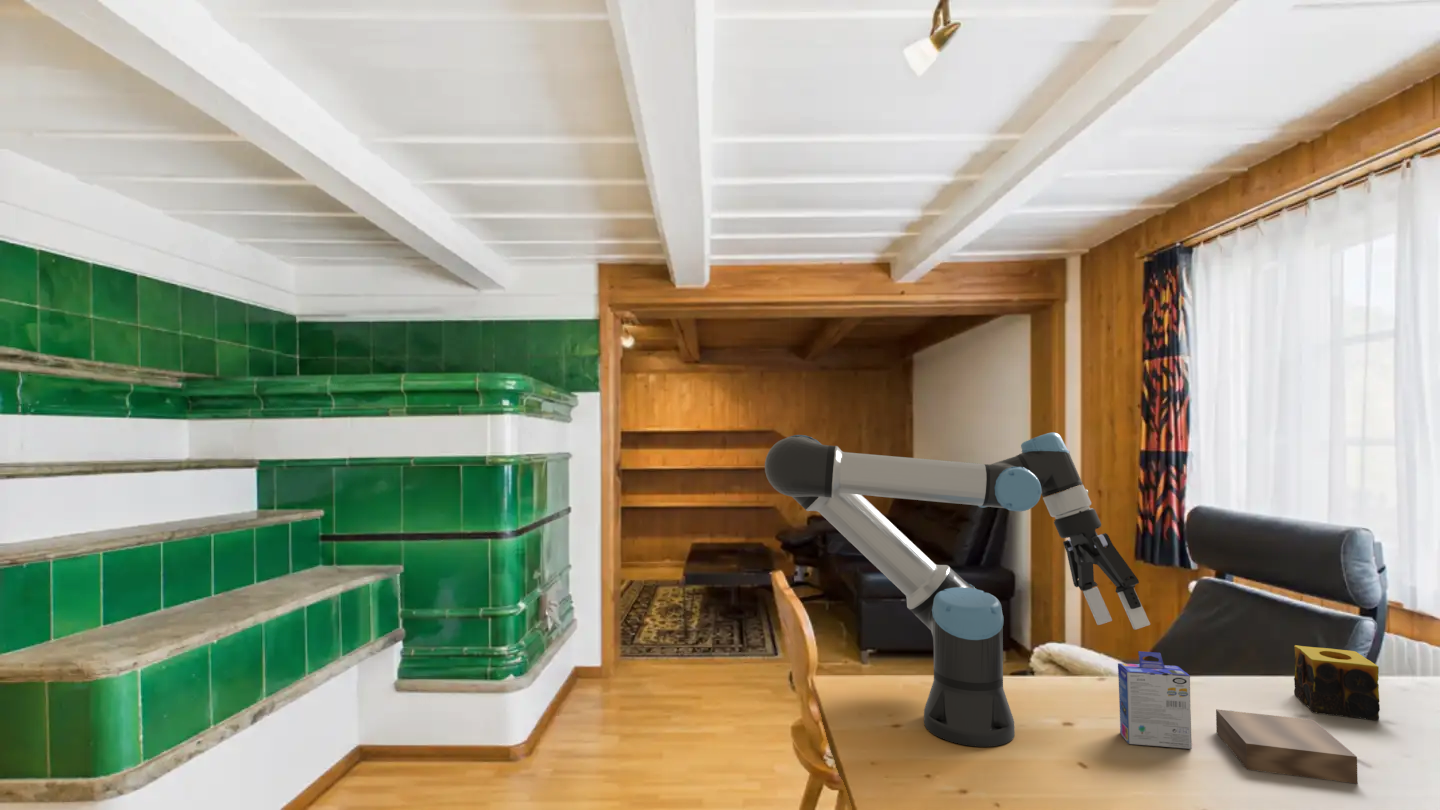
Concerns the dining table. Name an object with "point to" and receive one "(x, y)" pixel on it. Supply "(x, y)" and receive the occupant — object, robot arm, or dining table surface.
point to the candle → (1337, 682)
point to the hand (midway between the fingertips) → (1122, 625)
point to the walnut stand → (1286, 746)
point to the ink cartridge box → (1154, 703)
